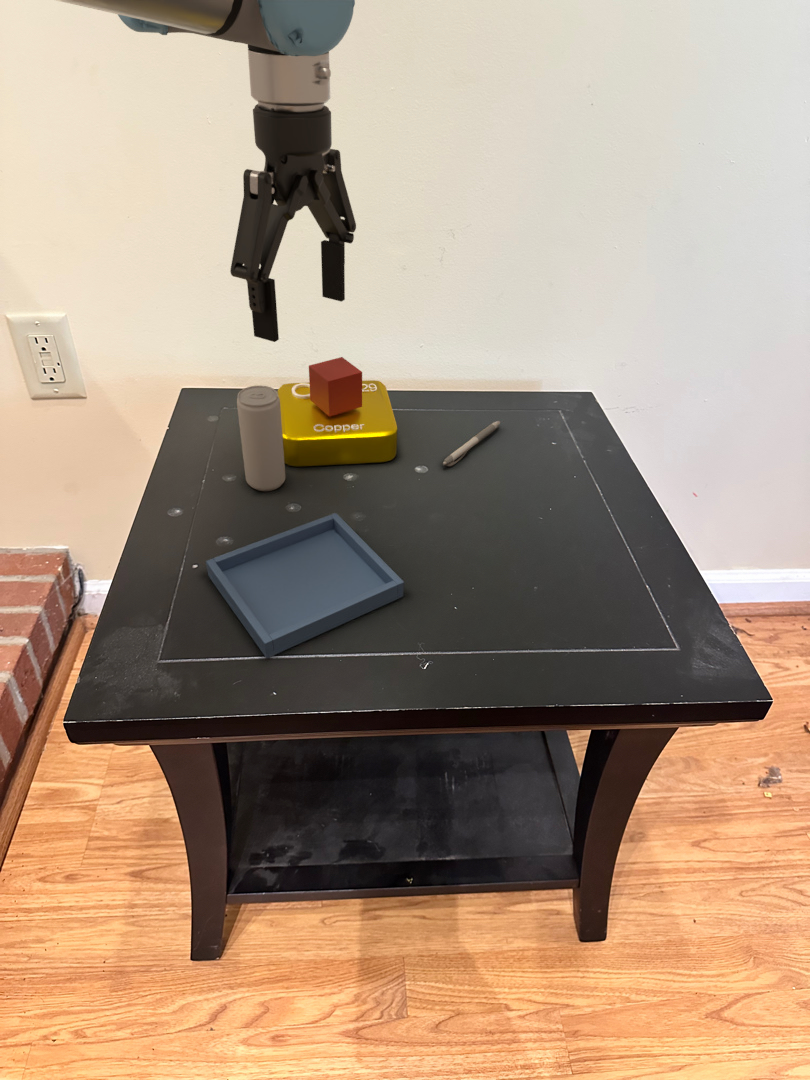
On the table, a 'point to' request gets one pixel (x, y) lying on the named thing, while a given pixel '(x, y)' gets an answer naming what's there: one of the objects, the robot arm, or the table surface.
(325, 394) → the red block
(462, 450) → the pen
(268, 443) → the beverage can
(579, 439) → the table surface
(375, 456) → the element tile
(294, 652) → the table surface
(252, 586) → the slate tray
